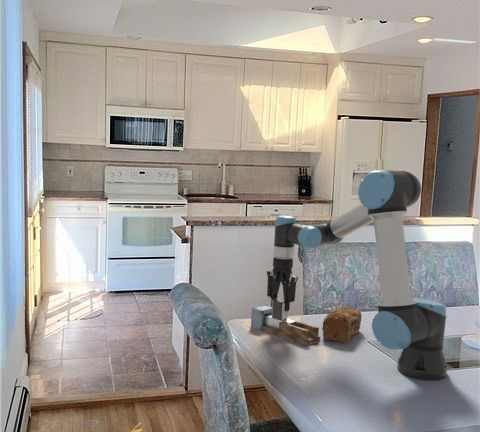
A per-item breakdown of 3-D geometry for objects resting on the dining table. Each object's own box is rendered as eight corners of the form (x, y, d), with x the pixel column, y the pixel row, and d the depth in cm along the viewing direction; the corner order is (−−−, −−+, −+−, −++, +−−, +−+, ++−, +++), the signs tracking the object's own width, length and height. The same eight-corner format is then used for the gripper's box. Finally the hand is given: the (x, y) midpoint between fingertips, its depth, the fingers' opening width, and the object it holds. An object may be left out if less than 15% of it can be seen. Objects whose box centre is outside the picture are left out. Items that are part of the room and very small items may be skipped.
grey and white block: (295, 330, 211) (297, 303, 210) (288, 332, 208) (290, 304, 207) (263, 320, 222) (265, 294, 220) (256, 322, 219) (258, 295, 217)
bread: (348, 344, 203) (350, 318, 202) (320, 339, 208) (321, 313, 207) (361, 331, 220) (363, 306, 219) (335, 326, 224) (336, 302, 223)
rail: (320, 340, 206) (320, 327, 205) (306, 345, 200) (307, 331, 199) (264, 323, 224) (265, 310, 223) (250, 326, 218) (251, 314, 218)
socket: (274, 326, 221) (275, 307, 220) (260, 330, 215) (261, 310, 214) (264, 323, 224) (265, 304, 223) (250, 326, 218) (251, 308, 217)
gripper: (307, 260, 207) (303, 321, 210) (272, 252, 219) (268, 310, 222) (295, 262, 202) (291, 325, 205) (259, 254, 214) (256, 313, 216)
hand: (279, 317), depth 213 cm, fingers closed on grey and white block, 4 cm apart
